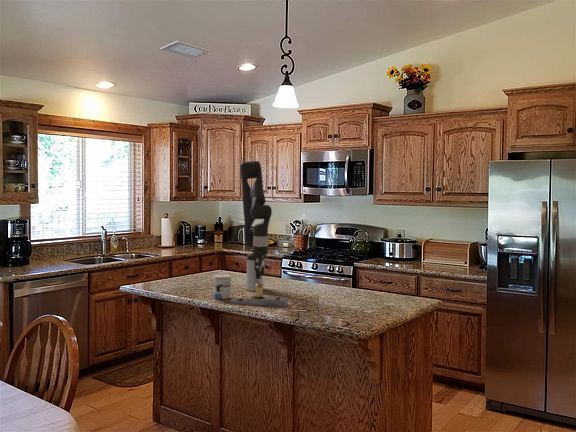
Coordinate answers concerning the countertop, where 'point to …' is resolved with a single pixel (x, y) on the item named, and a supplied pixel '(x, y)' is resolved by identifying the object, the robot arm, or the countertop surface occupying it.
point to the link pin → (258, 291)
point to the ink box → (222, 287)
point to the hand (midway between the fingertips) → (260, 277)
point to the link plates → (261, 301)
